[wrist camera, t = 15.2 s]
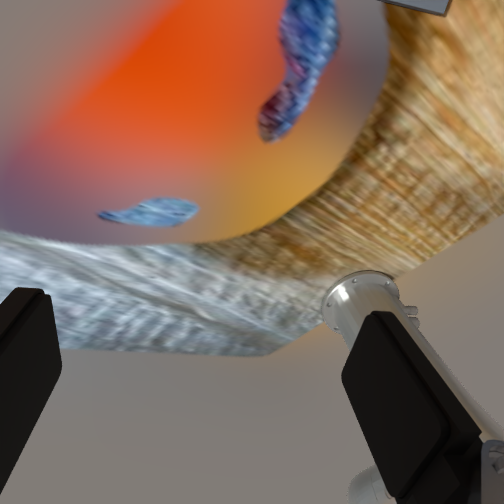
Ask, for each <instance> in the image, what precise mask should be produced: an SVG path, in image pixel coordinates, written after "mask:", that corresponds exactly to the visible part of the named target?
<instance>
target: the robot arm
mask: <svg viewBox="0 0 504 504" xmlns="http://www.w3.org/2000/svg"><path fill="white" fill-rule="evenodd" d="M321 311H322V316H323V319H324V321H325V323H326V325H327V326H328V327H329V328H330V329H331V330H332V331H334V332H336V333H339V334H342V336H343V338H344V340H345V342H346V344H347V346H348V349H349V351H350V354H349V356H348V359H347V361H346V363H345V366H344V368H343V371H342V375H341V376H342V383H343V386H344V388H345V391H346V393H347V395H348V398H349V400H350V403H351V405H352V408H353V410H354V412H355V415H356V417H357V420H358V422H359V424H360V427H361V429H362V431H363V434H364V436H365V439H366V441H367V443H368V446H369V448H370V451H371V453H372V456H373V458H374V461H375V463H376V464H375V465H373V466H371V467H369V468H367V469H365V470H364V471H362V472H361V473H359V474H358V475H356V476H355V478H353V480H352V481H351V483H350V485H349V487H348V493H347V502H348V504H504V429H503V428H502V427H501V426H500V425H499V424H498V423H497V422H496V421H495V420H494V419H493V418H492V417H491V416H490V415H489V414H488V413H487V412H486V411H485V409H484V408H483V407H482V406H481V405H480V404H479V403H478V402H477V401H476V400H475V399H474V398H473V397H472V395H471V394H470V393H469V392H468V391H467V389H466V388H465V387H464V386H463V385H462V384H461V382H460V381H459V380H458V379H457V378H456V377H455V375H454V374H453V373H452V371H451V370H450V369H449V368H448V366H447V365H446V364H445V363H444V361H443V360H442V359H441V358H440V356H439V355H438V354H437V353H436V351H435V350H434V349H433V348H432V346H431V345H430V344H429V343H428V341H427V340H426V339H425V337H424V336H423V335H422V334H421V332H420V331H419V330H418V327H419V320H418V318H416V317H408V316H407V315H406V314H408V315H416V314H417V313H418V309H417V307H415V306H404V305H403V304H402V303H401V301H400V300H399V290H398V288H397V286H396V284H395V283H394V282H393V281H392V280H391V279H390V278H389V277H388V276H386V275H384V274H383V273H379V272H376V271H361V272H357V273H353V274H351V275H348V276H346V277H344V278H342V279H341V280H339V281H338V282H337V283H335V284H334V285H333V286H332V287H331V288H330V289H329V290H328V292H327V293H326V295H325V297H324V299H323V302H322V307H321ZM61 370H62V361H61V355H60V348H59V342H58V336H57V330H56V324H55V318H54V312H53V306H52V300H51V296H50V295H48V294H45V293H44V291H43V289H39V288H23V287H17V288H15V289H14V290H13V291H12V292H11V293H10V294H9V295H8V296H7V297H6V298H5V300H4V301H3V302H2V303H1V304H0V494H1V492H2V490H3V488H4V486H5V484H6V482H7V480H8V478H9V476H10V474H11V472H12V470H13V468H14V466H15V464H16V462H17V460H18V458H19V456H20V454H21V452H22V450H23V448H24V446H25V444H26V442H27V440H28V438H29V436H30V434H31V432H32V430H33V428H34V426H35V424H36V422H37V420H38V418H39V417H40V414H41V412H42V411H43V408H44V407H45V405H46V402H47V401H48V399H49V397H50V395H51V393H52V391H53V389H54V386H55V384H56V383H57V381H58V379H59V376H60V374H61Z"/></svg>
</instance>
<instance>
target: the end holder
mask: <svg viewBox="0 0 504 504" xmlns="http://www.w3.org/2000/svg"><path fill="white" fill-rule="evenodd" d="M378 1H382V2H386V3H390V4H394V5H398V6H403V7H407V8H411V9H415V10H419V11H423V12H427V13H431V14H435V15H441V14H444V12H445V9H446V6H447V3H448V1H449V0H378Z"/></svg>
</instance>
